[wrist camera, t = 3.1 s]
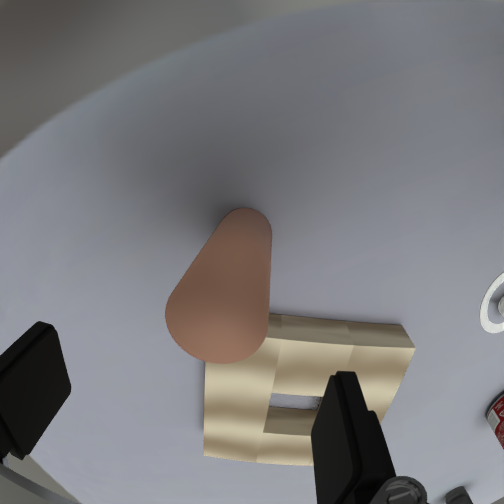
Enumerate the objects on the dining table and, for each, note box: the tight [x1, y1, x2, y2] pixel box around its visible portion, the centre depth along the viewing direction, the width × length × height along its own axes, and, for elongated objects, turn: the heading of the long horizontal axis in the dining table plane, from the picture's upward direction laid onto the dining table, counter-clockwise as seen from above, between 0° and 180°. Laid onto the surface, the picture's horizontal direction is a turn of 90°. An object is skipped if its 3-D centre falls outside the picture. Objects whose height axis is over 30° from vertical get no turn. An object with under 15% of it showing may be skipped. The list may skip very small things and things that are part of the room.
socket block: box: [204, 313, 416, 466], centre depth 29 cm, size 18×18×4 cm
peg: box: [165, 208, 272, 364], centre depth 20 cm, size 4×4×14 cm
